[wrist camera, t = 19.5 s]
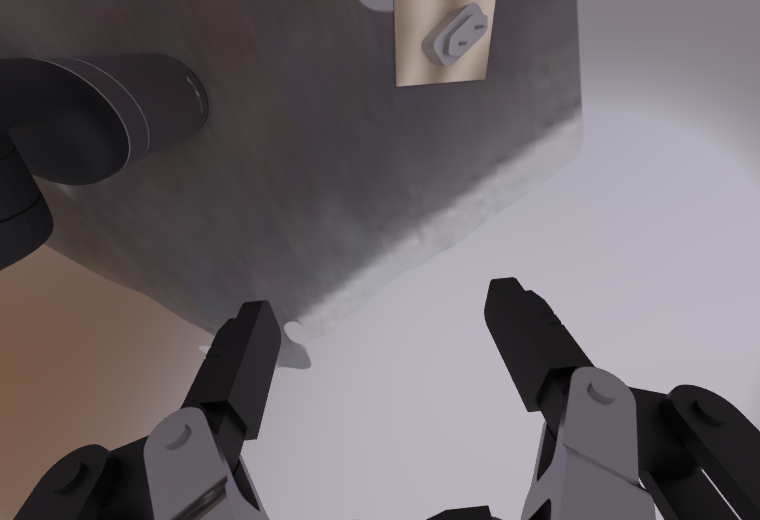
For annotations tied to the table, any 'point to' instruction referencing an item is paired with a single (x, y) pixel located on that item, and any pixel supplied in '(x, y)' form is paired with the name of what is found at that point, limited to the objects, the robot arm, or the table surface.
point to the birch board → (414, 22)
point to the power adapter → (455, 34)
